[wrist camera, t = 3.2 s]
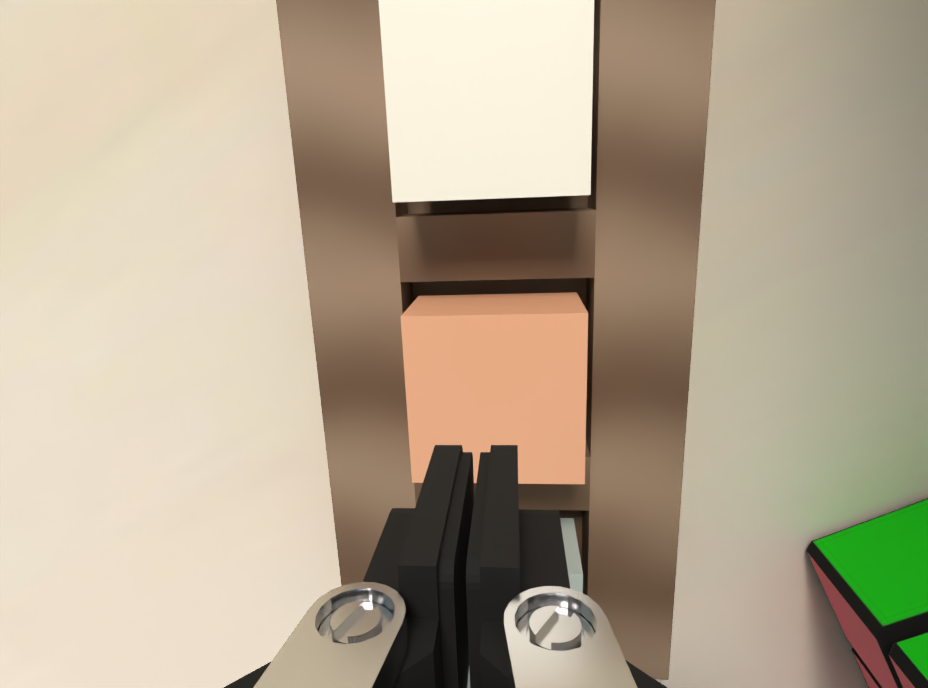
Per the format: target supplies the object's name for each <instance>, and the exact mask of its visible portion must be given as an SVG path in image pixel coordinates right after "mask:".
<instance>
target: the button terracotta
mask: <svg viewBox="0 0 928 688" xmlns="http://www.w3.org/2000/svg"><path fill="white" fill-rule="evenodd" d="M401 331H402V346H403V360H404V374H405V389H406V403H407V418H408V432H409V446H410V461H411V475H412V483H423V481H424V478H425V475H426V472H427V469H428V465H429V462H430V459H431V456H432V453H433V449H434V446H435V445H462V448H463V452H472V454H473V474H474V483H476V482H477V474H478V467H479V459H480V452H490V449H491V445H518V484H585V450H586V399H587V348H588V312H587V310H586V308H585V306H584V305H583V303H582V301H581V299H580V297H579V296H578V294H577V292H570V293H524V294H478V295H432V296H418V297H417V298H416V299H415V301H414V302H413V303H412V304H411V305H410V306H409V307H408V309H407V310H406V311H405V312H404V313H403V314H402V315H401Z"/></svg>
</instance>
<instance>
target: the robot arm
mask: <svg viewBox="0 0 928 688" xmlns="http://www.w3.org/2000/svg"><path fill="white" fill-rule="evenodd" d="M469 669H470V688H667V687H665V686H664V685H662V684H661V683H659V682H658V681H656V680H655V679H653V678H652V677H650V676H649V675H647V674H646V673H644V672H643V671H641V670H640V669H638V668H637V667H635V666H634V665H632V664H631V663H629V662H628V661H626V660H625V658H624V656H623V653H622V651H621V649H620V646H619V644H618V642H617V640H616V637H615V635H614V633H613V630H612V628H611V626H610V623H609V621H608V619H607V617H606V615H605V613H604V612H603V610H602V609H601V607H600V606H599V605H598V604H597V603H596V602H595V601H593V600H592V599H591V598H590V597H588V596H587V595H584V594H582V593H580V592H578V591H576V590H573V589H570V583H569V576H568V569H567V562H566V555H565V548H564V542H563V535H562V528H561V521H560V514H559V510H538V509H519V500H518V445H491V449H490V452H480V459H479V467H478V474H477V482H476V490H475V498H474V474H473V454H472V452H463V448H462V445H435V446H434V449H433V453H432V456H431V459H430V462H429V465H428V469H427V472H426V475H425V478H424V481H423V484H422V488H421V491H420V494H419V497H418V500H417V503H416V507H415V508H392V509H391V511H390V513H389V516H388V518H387V521H386V523H385V526H384V529H383V531H382V534H381V536H380V539H379V541H378V544H377V546H376V549H375V552H374V554H373V557H372V559H371V562H370V564H369V567H368V569H367V572H366V575H365V577H364V580H363V582H357V583H352V584H346V585H343V586H341V587H338V588H336V589H333V590H331V591H329V592H328V593H326V594H325V595H323V596H321V597H320V598H319V599H318V600H317V601H316V602H315V603H314V604H313V605H312V606H311V607H310V608H309V610H308V611H307V613H306V614H305V615H304V617H303V618H302V620H301V621H300V622H299V624H298V625H297V627H296V628H295V629H294V631H293V632H292V634H291V635H290V637H289V638H288V639H287V641H286V642H285V644H284V645H283V646H282V648H281V649H280V651H279V652H278V653H277V655H276V656H275V658H274V659H273V661H272V662H270V663H268V664H266V665H264V666H262V667H261V668H259V669H257V670H255V671H253V672H251V673H250V674H248V675H246V676H244V677H242V678H240V679H239V680H237V681H235V682H233V683H231V684H229V685H228V686H226V687H224V688H467V684H468V673H469Z"/></svg>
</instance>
